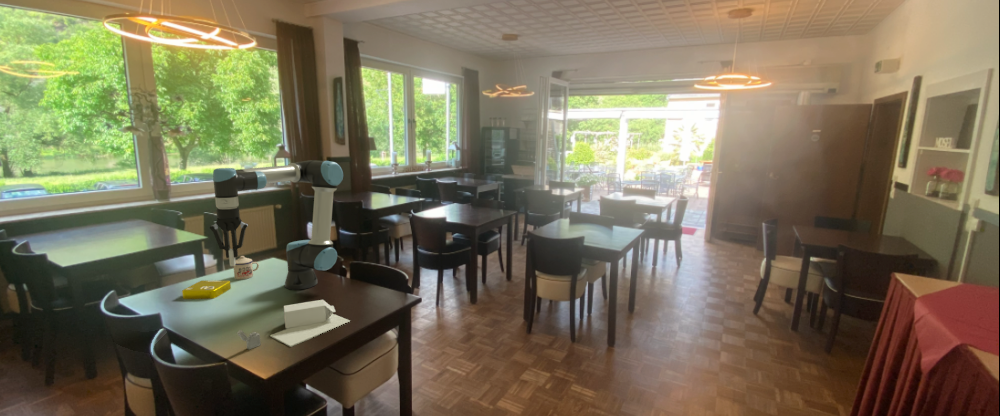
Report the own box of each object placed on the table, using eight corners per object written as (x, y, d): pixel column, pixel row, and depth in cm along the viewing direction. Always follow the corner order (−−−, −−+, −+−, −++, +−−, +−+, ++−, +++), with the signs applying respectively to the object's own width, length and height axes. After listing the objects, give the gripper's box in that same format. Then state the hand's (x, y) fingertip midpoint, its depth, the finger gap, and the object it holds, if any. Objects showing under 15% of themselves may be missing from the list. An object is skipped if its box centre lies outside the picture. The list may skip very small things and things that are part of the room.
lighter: (258, 343, 154) (256, 323, 153) (260, 345, 153) (259, 324, 152) (238, 351, 148) (236, 330, 147) (240, 353, 147) (238, 332, 146)
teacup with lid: (236, 281, 218) (234, 259, 216) (232, 276, 225) (230, 256, 223) (261, 276, 226) (260, 255, 224) (257, 272, 233) (255, 252, 231)
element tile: (232, 288, 209) (231, 279, 208) (214, 299, 194) (213, 290, 193) (201, 288, 208) (200, 279, 207) (180, 299, 193) (179, 290, 193)
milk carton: (284, 312, 164) (335, 303, 173) (283, 305, 170) (332, 297, 179) (285, 329, 165) (336, 319, 174) (284, 321, 171) (333, 313, 180)
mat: (320, 309, 185) (320, 308, 185) (350, 321, 173) (350, 320, 173) (260, 331, 163) (260, 330, 163) (290, 347, 152) (290, 345, 152)
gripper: (205, 209, 157) (211, 269, 161) (244, 208, 162) (249, 266, 166) (210, 206, 164) (216, 264, 168) (248, 205, 169) (253, 261, 173)
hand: (232, 265), depth 167 cm, fingers closed
